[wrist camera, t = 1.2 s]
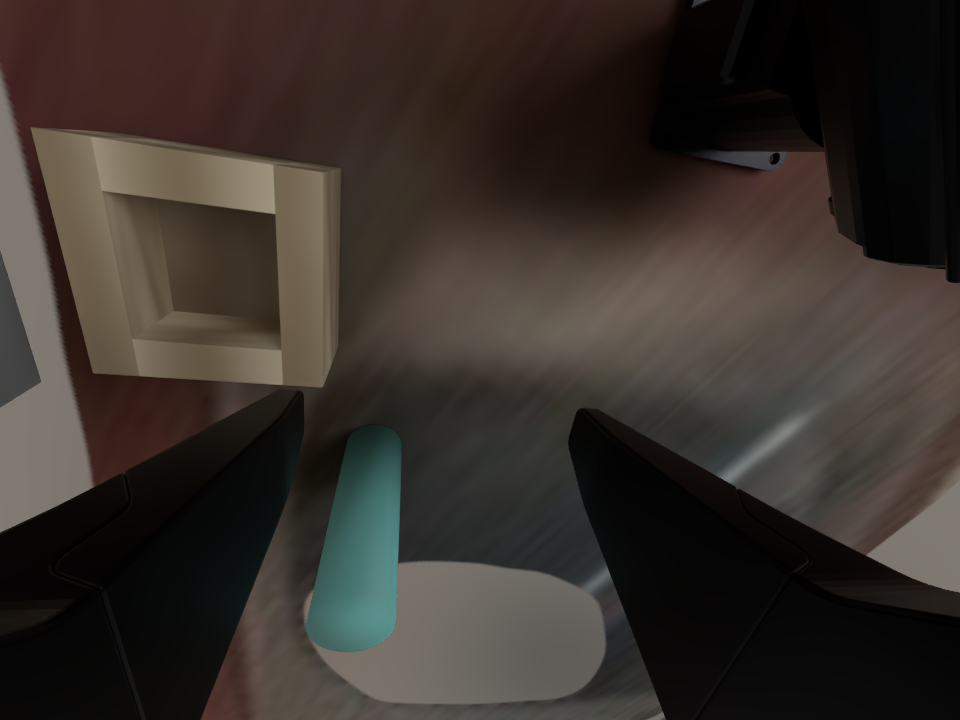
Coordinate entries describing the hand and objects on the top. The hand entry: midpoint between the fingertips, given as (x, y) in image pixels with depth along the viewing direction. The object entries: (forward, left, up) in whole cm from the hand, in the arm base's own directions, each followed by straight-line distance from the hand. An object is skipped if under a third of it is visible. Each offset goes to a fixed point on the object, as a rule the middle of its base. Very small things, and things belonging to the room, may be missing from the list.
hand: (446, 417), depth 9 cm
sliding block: (+8, 0, -12) cm, 14 cm away
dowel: (+2, +10, -12) cm, 16 cm away
